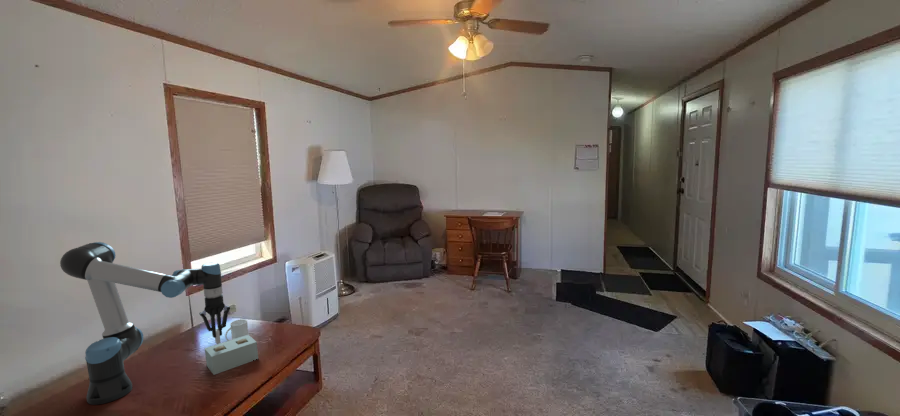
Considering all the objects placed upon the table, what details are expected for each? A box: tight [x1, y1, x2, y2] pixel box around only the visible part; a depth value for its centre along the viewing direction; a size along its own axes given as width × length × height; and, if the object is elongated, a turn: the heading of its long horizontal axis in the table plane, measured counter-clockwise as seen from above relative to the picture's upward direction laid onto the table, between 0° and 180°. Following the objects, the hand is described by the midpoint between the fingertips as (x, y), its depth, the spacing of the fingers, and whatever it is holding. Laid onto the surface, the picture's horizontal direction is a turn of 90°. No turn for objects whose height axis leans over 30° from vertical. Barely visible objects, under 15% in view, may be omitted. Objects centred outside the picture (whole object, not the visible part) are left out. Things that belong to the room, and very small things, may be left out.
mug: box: [224, 318, 250, 341], centre depth 218 cm, size 12×8×12 cm
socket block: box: [204, 334, 259, 375], centre depth 200 cm, size 20×12×9 cm, turn 134°
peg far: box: [237, 339, 246, 345], centre depth 203 cm, size 4×4×8 cm
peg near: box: [215, 346, 225, 352], centre depth 196 cm, size 4×4×8 cm
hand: (218, 342), depth 195 cm, fingers closed
